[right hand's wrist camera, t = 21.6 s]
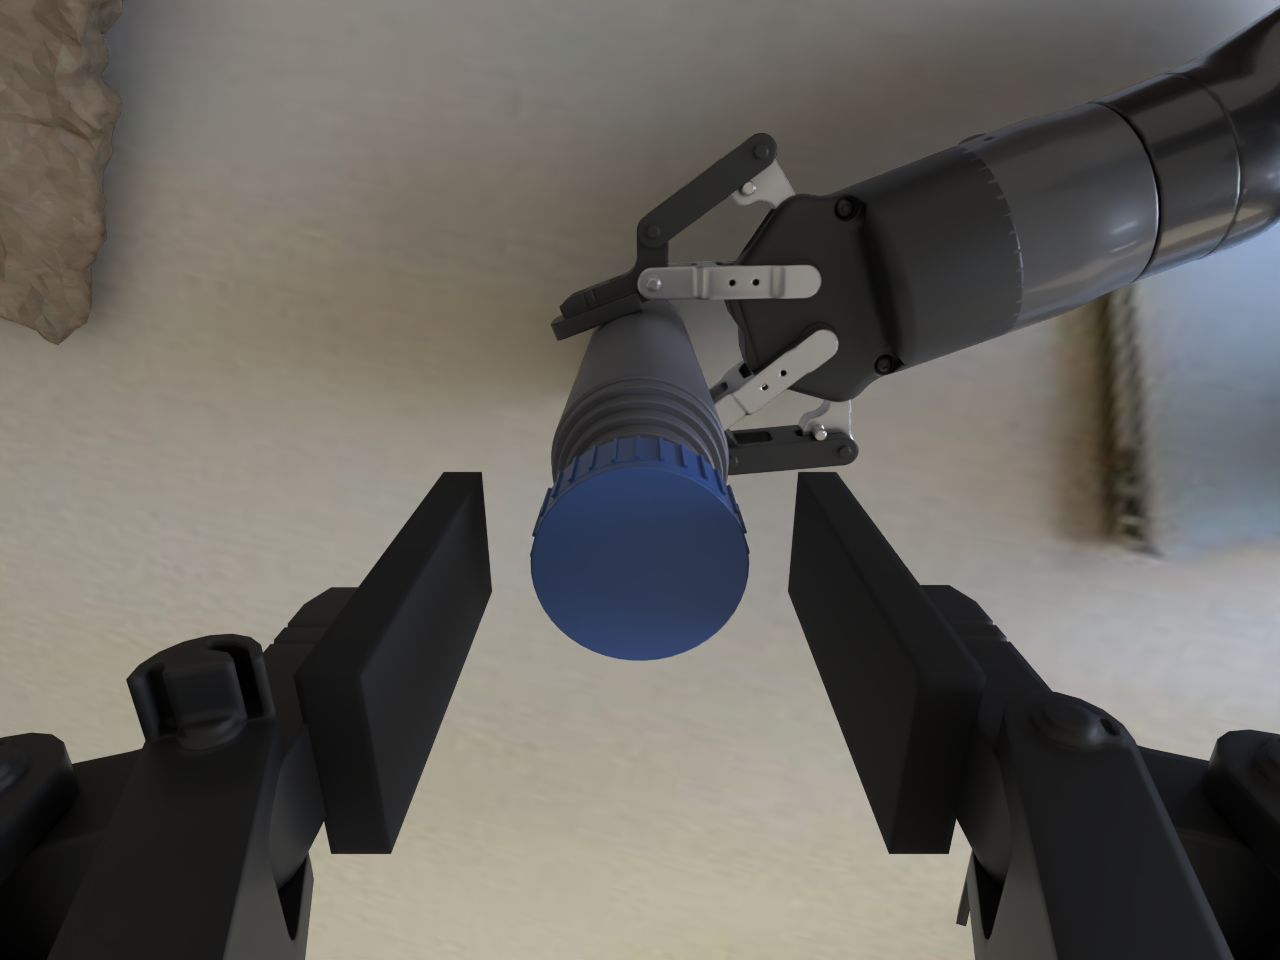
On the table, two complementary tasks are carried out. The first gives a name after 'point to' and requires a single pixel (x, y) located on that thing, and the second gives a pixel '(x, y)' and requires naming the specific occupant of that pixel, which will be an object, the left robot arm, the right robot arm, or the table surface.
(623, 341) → the bottle
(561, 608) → the cap
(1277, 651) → the table surface
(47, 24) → the stone
